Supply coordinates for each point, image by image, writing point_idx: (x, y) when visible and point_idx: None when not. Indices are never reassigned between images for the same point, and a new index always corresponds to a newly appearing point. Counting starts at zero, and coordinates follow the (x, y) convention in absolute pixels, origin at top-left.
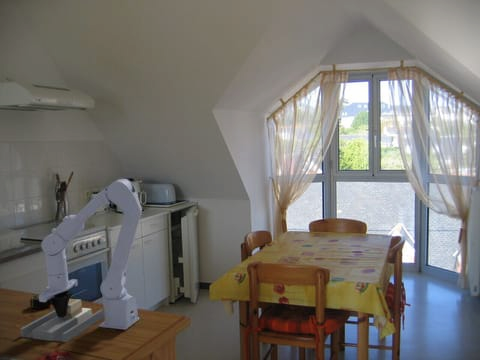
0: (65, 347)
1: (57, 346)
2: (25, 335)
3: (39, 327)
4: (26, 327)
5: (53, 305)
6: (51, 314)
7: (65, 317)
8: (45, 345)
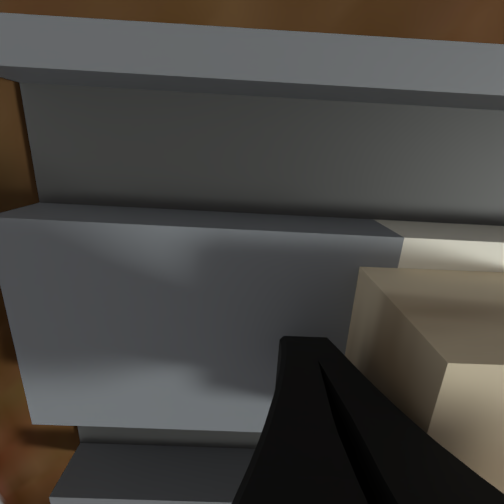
0: (40, 481)
1: (29, 438)
2: (41, 89)
3: (71, 246)
4: (19, 67)
5: (248, 477)
6: (462, 97)
7: (347, 348)
8: (5, 366)
